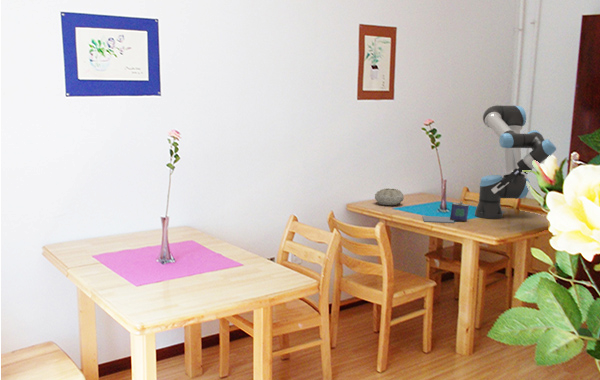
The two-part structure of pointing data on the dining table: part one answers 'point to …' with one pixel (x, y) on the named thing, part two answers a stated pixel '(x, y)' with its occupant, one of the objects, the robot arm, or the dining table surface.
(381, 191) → the cratered grey rock
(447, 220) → the mat
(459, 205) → the flask
